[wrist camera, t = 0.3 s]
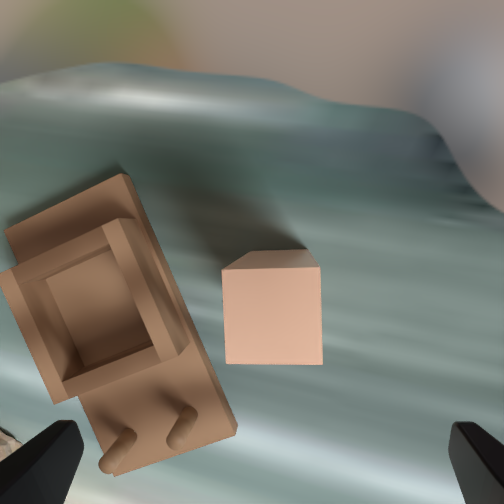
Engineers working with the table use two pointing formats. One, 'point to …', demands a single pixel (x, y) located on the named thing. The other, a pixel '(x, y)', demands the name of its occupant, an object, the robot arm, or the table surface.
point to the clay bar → (273, 308)
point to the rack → (114, 328)
